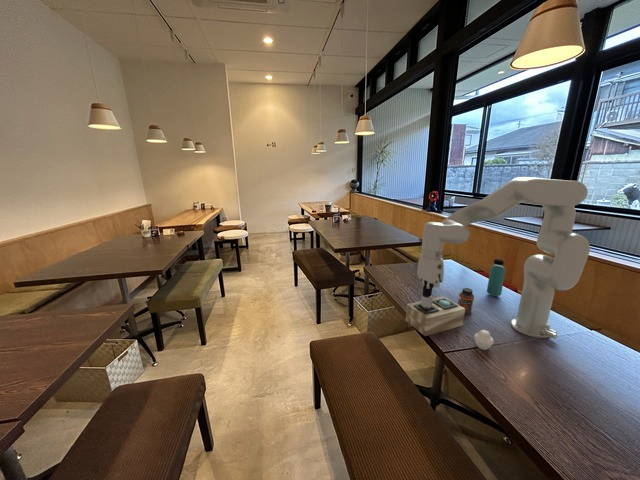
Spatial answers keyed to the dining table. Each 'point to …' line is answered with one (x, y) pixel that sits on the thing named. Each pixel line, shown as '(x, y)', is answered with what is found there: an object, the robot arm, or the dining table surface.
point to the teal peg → (444, 303)
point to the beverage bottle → (496, 278)
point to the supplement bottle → (466, 300)
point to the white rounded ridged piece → (483, 339)
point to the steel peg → (426, 303)
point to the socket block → (435, 316)
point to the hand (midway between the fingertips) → (426, 295)
